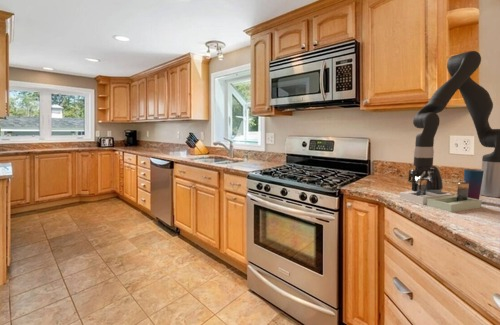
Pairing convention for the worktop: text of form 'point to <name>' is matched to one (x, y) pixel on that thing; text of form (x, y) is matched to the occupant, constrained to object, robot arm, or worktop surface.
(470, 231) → the worktop surface
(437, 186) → the black tapered dome
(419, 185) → the cell
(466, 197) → the cell
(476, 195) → the cup
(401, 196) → the battery tester
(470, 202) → the trough rack
